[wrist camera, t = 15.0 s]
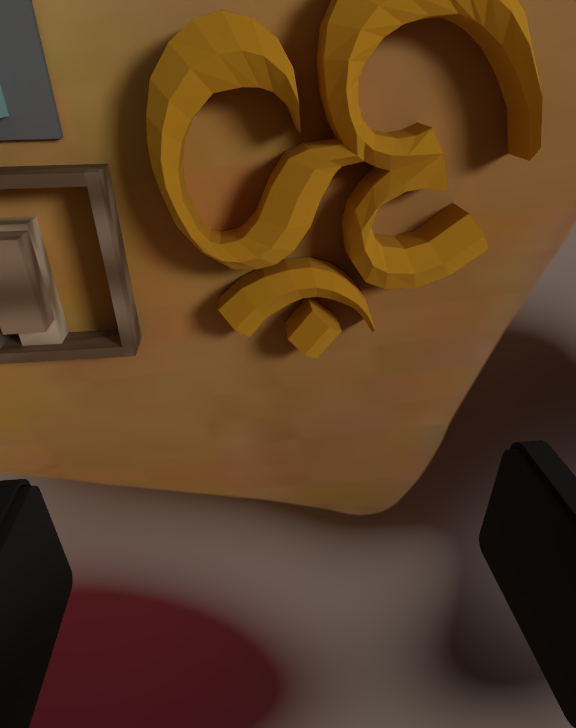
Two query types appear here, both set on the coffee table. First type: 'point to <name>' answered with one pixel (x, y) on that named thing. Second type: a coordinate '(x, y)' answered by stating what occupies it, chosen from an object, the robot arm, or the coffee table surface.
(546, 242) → the coffee table surface
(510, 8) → the decorative symbol
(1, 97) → the teal rectangular block
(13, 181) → the brown rectangular frame
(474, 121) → the coffee table surface
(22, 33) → the mat
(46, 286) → the offcut stack
